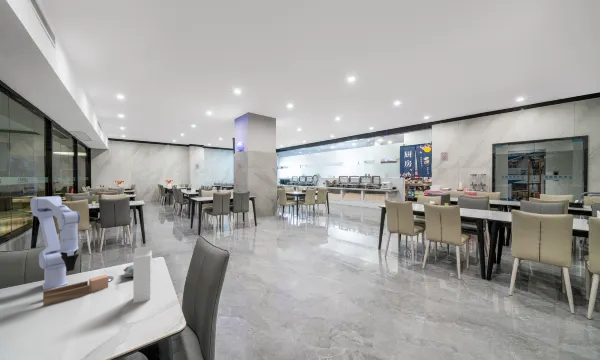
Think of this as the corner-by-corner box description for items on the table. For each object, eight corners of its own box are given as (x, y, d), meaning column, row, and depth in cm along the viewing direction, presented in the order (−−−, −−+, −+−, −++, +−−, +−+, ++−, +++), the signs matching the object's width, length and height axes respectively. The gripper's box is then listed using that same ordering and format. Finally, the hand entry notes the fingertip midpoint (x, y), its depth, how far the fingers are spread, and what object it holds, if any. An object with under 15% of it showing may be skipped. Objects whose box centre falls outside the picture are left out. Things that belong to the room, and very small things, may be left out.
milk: (135, 297, 103) (135, 246, 103) (152, 294, 106) (151, 244, 106) (133, 303, 98) (132, 250, 98) (150, 300, 100) (150, 248, 100)
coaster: (88, 281, 119) (88, 279, 119) (111, 275, 125) (111, 274, 125) (91, 286, 113) (91, 285, 113) (115, 280, 119) (115, 279, 119)
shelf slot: (43, 299, 101) (43, 291, 101) (87, 288, 111) (87, 280, 111) (43, 306, 96) (43, 297, 96) (89, 293, 106) (89, 285, 106)
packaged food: (122, 280, 118) (122, 270, 118) (123, 273, 128) (123, 264, 128) (143, 276, 123) (143, 267, 123) (143, 270, 133) (143, 261, 133)
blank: (89, 289, 110) (89, 278, 110) (105, 285, 115) (105, 274, 115) (91, 292, 108) (91, 281, 108) (108, 287, 112) (108, 276, 112)
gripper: (55, 237, 110) (56, 267, 110) (57, 242, 100) (57, 275, 100) (76, 235, 115) (77, 263, 115) (80, 239, 105) (80, 270, 105)
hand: (69, 268), depth 108 cm, fingers open, 7 cm apart
